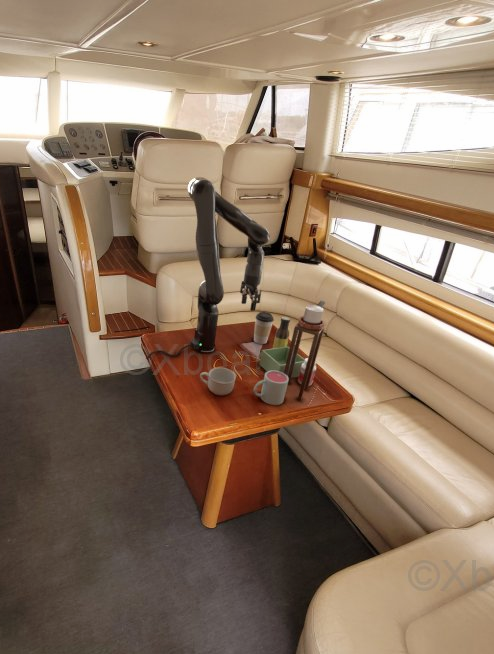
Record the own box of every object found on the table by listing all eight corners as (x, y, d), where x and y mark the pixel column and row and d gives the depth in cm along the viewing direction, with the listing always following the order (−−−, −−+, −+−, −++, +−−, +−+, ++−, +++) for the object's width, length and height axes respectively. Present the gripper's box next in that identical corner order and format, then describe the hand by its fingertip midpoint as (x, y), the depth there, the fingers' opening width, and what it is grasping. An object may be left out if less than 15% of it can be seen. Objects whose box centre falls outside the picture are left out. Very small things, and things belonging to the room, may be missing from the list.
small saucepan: (311, 311, 157) (315, 296, 153) (327, 315, 154) (332, 300, 151) (299, 324, 143) (303, 308, 140) (317, 329, 141) (321, 313, 138)
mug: (275, 390, 159) (280, 369, 154) (288, 403, 152) (293, 381, 147) (246, 394, 154) (250, 373, 150) (257, 408, 147) (261, 386, 142)
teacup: (235, 387, 158) (238, 371, 154) (229, 401, 149) (232, 384, 145) (203, 379, 161) (205, 363, 157) (195, 393, 152) (197, 375, 148)
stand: (286, 381, 165) (303, 313, 150) (307, 389, 162) (327, 319, 146) (278, 393, 157) (295, 321, 142) (300, 401, 154) (320, 328, 138)
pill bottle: (306, 378, 170) (312, 356, 164) (314, 385, 165) (321, 363, 159) (294, 379, 167) (300, 357, 162) (302, 387, 163) (308, 364, 157)
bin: (276, 380, 166) (280, 365, 162) (259, 364, 177) (261, 350, 173) (303, 375, 171) (307, 361, 167) (284, 360, 182) (287, 346, 178)
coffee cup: (268, 337, 202) (273, 311, 195) (269, 345, 194) (275, 318, 187) (251, 335, 202) (256, 309, 195) (251, 343, 195) (256, 316, 187)
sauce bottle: (286, 359, 183) (295, 321, 173) (274, 360, 181) (282, 321, 172) (281, 353, 188) (289, 315, 178) (269, 353, 187) (277, 315, 177)
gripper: (238, 268, 176) (233, 302, 184) (253, 278, 165) (248, 313, 173) (252, 267, 178) (247, 300, 187) (268, 277, 167) (262, 312, 175)
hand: (248, 307), depth 180 cm, fingers open, 8 cm apart
